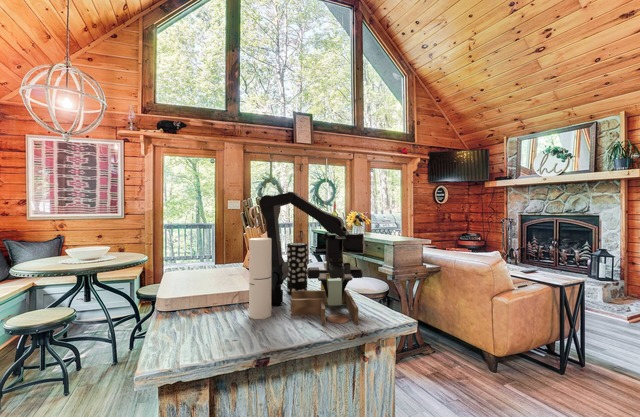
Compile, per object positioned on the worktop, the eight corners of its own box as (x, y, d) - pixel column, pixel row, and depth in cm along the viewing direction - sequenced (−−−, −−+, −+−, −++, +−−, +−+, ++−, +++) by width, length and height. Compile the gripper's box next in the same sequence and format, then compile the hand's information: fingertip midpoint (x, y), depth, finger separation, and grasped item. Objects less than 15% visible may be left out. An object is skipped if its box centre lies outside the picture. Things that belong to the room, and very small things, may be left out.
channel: (290, 326, 94) (290, 309, 94) (291, 304, 114) (291, 290, 114) (358, 324, 95) (358, 308, 95) (347, 303, 116) (347, 289, 115)
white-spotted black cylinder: (283, 294, 127) (284, 244, 127) (291, 289, 135) (291, 242, 135) (303, 296, 125) (303, 245, 124) (310, 290, 132) (310, 243, 132)
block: (328, 305, 107) (328, 281, 107) (327, 301, 112) (327, 278, 112) (341, 305, 108) (341, 281, 107) (339, 301, 112) (339, 278, 112)
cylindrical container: (266, 319, 99) (266, 240, 98) (245, 318, 100) (245, 239, 100) (274, 312, 106) (274, 238, 105) (254, 310, 107) (254, 237, 107)
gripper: (308, 256, 101) (308, 305, 101) (366, 256, 102) (366, 304, 102) (307, 251, 112) (307, 295, 112) (359, 251, 113) (358, 294, 113)
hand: (334, 297), depth 110 cm, fingers closed on block, 4 cm apart
